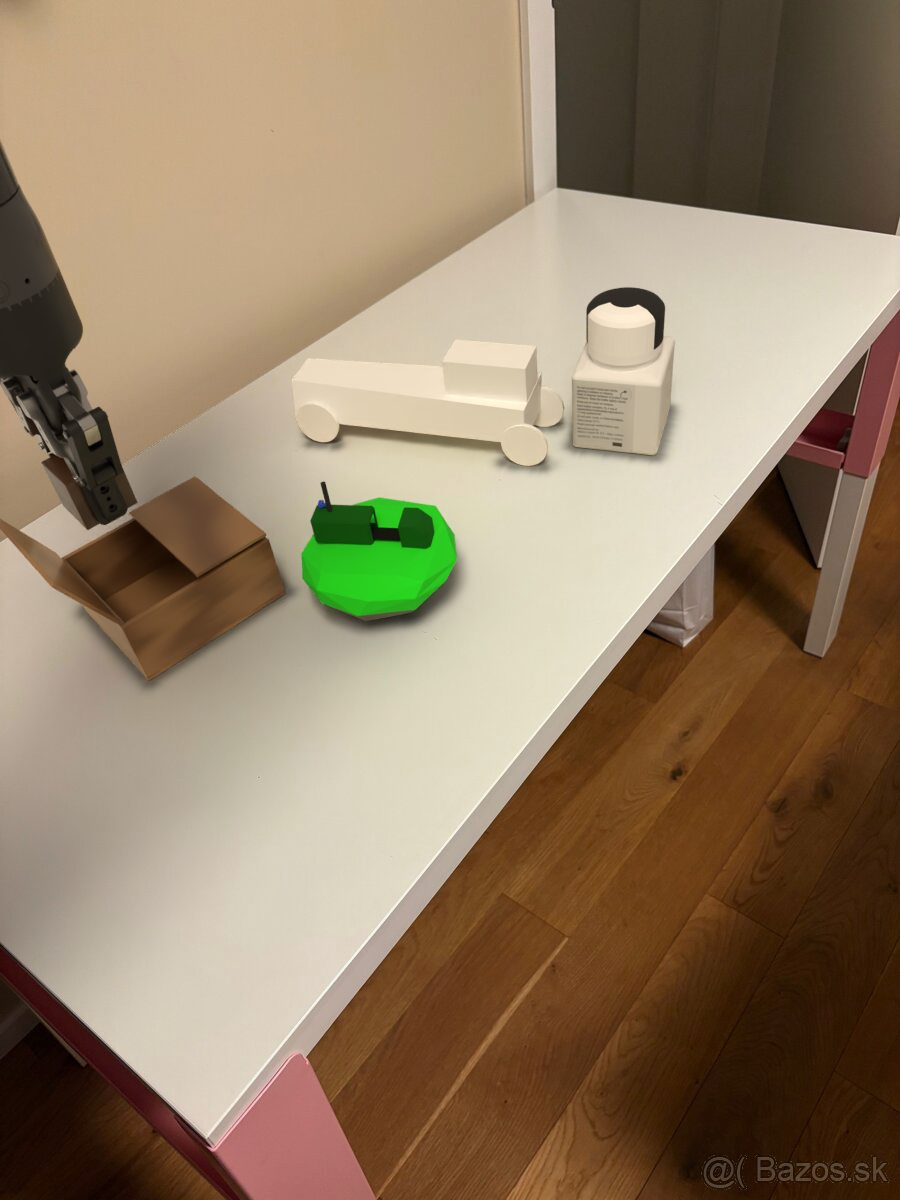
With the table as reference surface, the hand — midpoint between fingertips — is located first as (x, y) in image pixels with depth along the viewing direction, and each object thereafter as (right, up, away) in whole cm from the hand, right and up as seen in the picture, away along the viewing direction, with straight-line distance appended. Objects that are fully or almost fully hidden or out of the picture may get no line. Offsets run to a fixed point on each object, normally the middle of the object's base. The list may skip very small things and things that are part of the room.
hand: (98, 502), depth 68 cm
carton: (+3, -7, +10) cm, 13 cm away
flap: (-3, -5, 0) cm, 6 cm away
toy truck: (+23, +9, +23) cm, 34 cm away
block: (0, 0, 0) cm, 0 cm away
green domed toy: (+20, -7, +8) cm, 23 cm away
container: (+41, +9, +21) cm, 47 cm away
